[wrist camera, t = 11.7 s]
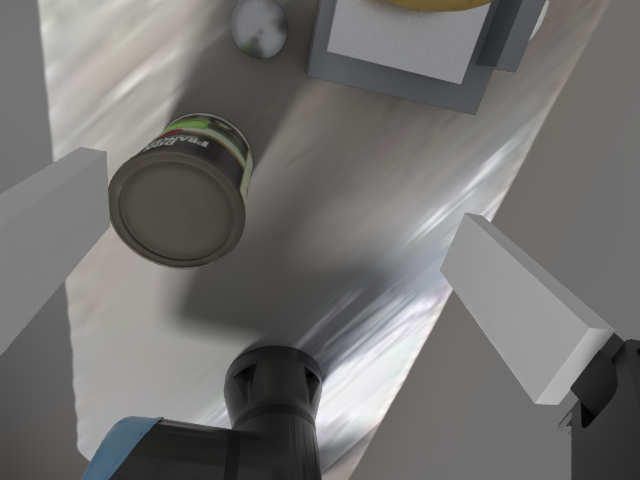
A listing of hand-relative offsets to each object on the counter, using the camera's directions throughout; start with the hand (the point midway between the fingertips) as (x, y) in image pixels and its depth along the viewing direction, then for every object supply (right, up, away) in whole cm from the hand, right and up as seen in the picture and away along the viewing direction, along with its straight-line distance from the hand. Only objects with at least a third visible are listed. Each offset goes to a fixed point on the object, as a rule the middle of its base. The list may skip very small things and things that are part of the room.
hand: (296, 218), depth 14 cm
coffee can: (-12, +8, +27) cm, 31 cm away
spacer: (-5, +20, +22) cm, 30 cm away
